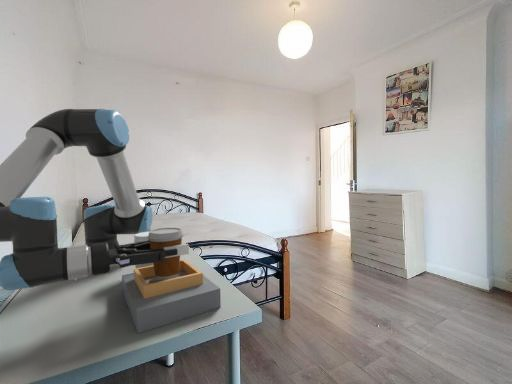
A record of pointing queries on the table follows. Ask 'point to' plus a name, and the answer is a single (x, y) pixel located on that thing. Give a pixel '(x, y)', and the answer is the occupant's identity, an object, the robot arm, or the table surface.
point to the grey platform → (168, 295)
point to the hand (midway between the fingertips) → (183, 245)
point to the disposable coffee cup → (160, 240)
